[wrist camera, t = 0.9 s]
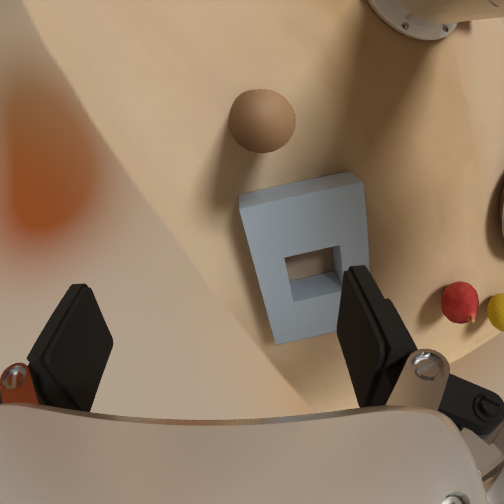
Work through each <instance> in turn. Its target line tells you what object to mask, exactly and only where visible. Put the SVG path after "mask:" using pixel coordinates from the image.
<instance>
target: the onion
mask: <svg viewBox="0 0 504 504" xmlns="http://www.w3.org/2000/svg"><path fill="white" fill-rule="evenodd" d="M441 306H442V311H443V314H444V315H445V316H446V317H447V318H448V319H449V320H450V321H452V322H454V323H460V324H463V323H467V322H471V323H473V322H474V321H475V318H476V315H477V311H478V308H479V300H478V295H477V292H476V290H475V289H474V288H473V287H472V286H471V285H470V284H468V283H466V282H455V283H452V284H451V285H448V286H447V287H446V288H445V291H444V292H443V295H442V299H441Z"/></svg>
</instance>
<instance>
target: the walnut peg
mask: <svg viewBox="0 0 504 504" xmlns="http://www.w3.org/2000/svg"><path fill="white" fill-rule="evenodd" d="M229 127H230V131H231V133H232V136H233V137H234V139H235V140H236V141H237V143H238V144H240V145H241V146H242V147H244V148H245V149H247V150H249V151H252V152H256V153H268V152H272V151H275V150H277V149H279V148H281V147H282V146H284V145H285V144H286V143H287V142H288V141H289V139H290V138H291V136H292V134H293V132H294V128H295V114H294V111H293V108H292V106H291V105H290V103H289V102H288V101H287V100H286V99H285V98H284V97H283V96H282V95H280V94H278V93H277V92H274V91H271V90H265V89H259V90H250V91H246V92H244V93H242V94H240V95H239V96H238V97H237V98H236V99H235V101H234V103H233V105H232V108H231V111H230V115H229Z"/></svg>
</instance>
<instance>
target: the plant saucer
mask: <svg viewBox="0 0 504 504" xmlns="http://www.w3.org/2000/svg"><path fill="white" fill-rule="evenodd" d="M500 224H501V230H502V234H503V238H504V185H503V189H502V193H501V199H500Z"/></svg>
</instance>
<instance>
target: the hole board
mask: <svg viewBox="0 0 504 504" xmlns="http://www.w3.org/2000/svg"><path fill="white" fill-rule="evenodd" d="M239 211H240V215H241V219H242V222H243V226H244V230H245V233H246V237H247V241H248V244H249V248H250V252H251V256H252V259H253V263H254V267H255V270H256V274H257V278H258V281H259V285H260V289H261V293H262V296H263V300H264V304H265V307H266V311H267V315H268V318H269V322H270V326H271V329H272V333H273V337H274V341H275V344H276V345H279V344H284V343H288V342H293V341H298V340H302V339H306V338H311V337H315V336H319V335H323V334H327V333H332V332H336V331H337V321H338V313H339V306H340V298H341V289H342V281H343V273H344V271H347V270H348V268H349V267H350V266H358V265H365V266H366V267H367V269H368V270H369V245H368V228H367V214H366V202H365V191H364V182H363V181H362V180H360V179H359V178H358V177H357V176H355V175H354V174H353V173H352V172H350V171H348V172H343V173H338V174H333V175H328V176H323V177H318V178H313V179H308V180H303V181H298V182H294V183H289V184H284V185H280V186H275V187H271V188H267V189H262V190H258V191H254V192H249V193H245V194H241V195H239ZM329 247H332V250H333V258H334V268H335V271H332V272H328V273H324V274H319V275H315V276H311V277H307V278H302V279H298V280H294V281H289V278H288V273H287V268H286V264H285V259H284V258H285V257H290V256H294V255H298V254H303V253H307V252H312V251H316V250H320V249H325V248H329ZM369 272H370V270H369Z"/></svg>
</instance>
